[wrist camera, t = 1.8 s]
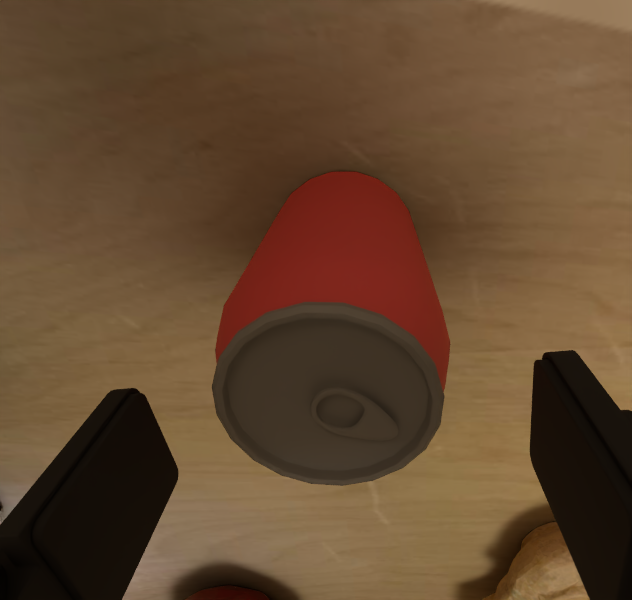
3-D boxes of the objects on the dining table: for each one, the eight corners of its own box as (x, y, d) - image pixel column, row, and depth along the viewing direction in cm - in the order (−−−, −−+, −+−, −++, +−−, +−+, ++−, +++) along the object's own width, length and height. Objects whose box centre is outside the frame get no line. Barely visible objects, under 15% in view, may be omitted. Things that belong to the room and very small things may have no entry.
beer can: (370, 317, 23) (378, 530, 12) (256, 264, 22) (158, 443, 11) (440, 208, 20) (531, 367, 9) (311, 141, 19) (247, 230, 8)
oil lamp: (447, 607, 35) (459, 686, 30) (479, 486, 28) (501, 564, 23) (586, 621, 34) (619, 704, 29) (653, 500, 27) (711, 584, 23)
